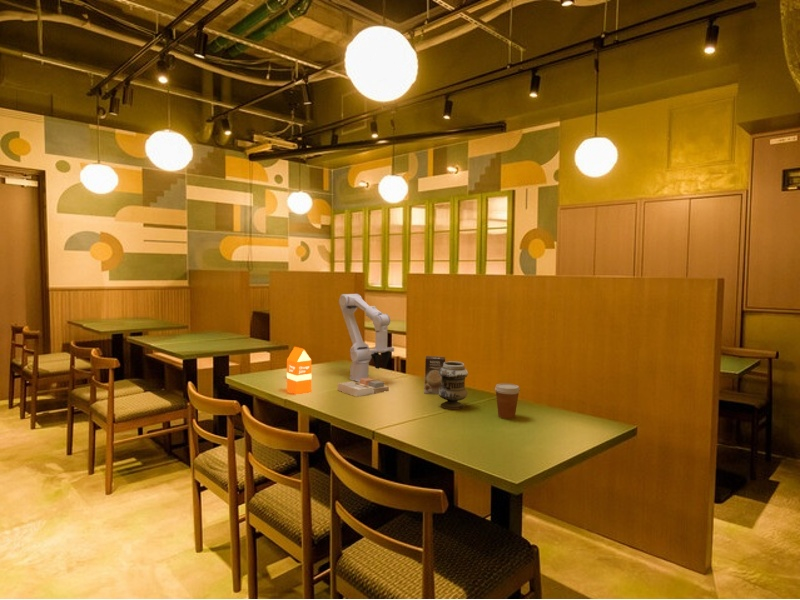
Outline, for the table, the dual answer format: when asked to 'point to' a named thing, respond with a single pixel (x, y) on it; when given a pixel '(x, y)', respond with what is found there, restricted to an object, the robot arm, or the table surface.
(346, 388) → the tray
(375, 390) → the board
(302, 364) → the orange juice
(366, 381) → the tile terracotta
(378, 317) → the robot arm
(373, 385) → the tile slate
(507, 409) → the disposable coffee cup
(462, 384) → the apothecary jar
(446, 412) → the table surface
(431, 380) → the coffee box
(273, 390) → the table surface
